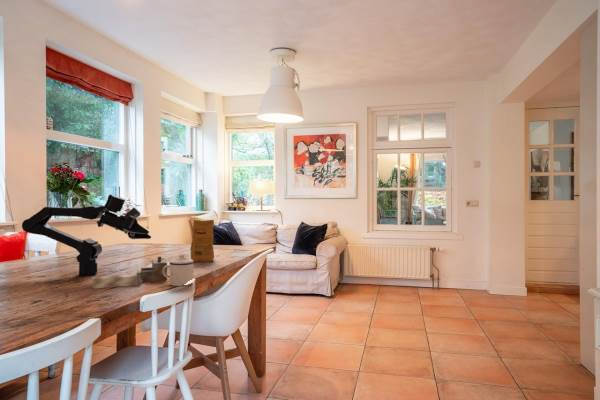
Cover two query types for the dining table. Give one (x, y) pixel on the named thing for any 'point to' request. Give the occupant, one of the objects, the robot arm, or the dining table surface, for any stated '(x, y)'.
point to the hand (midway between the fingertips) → (149, 235)
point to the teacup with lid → (180, 270)
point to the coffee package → (202, 241)
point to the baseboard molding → (151, 265)
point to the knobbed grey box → (154, 271)
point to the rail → (116, 280)
